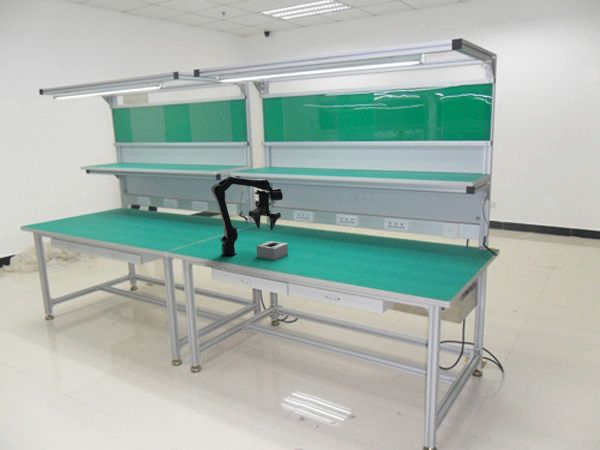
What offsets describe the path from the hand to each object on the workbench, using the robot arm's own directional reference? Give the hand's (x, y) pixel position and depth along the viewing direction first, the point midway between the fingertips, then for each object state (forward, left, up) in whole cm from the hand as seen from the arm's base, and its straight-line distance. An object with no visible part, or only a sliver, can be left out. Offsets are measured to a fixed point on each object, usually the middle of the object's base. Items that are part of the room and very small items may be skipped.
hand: (265, 229), depth 259 cm
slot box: (+10, -7, -12) cm, 17 cm away
